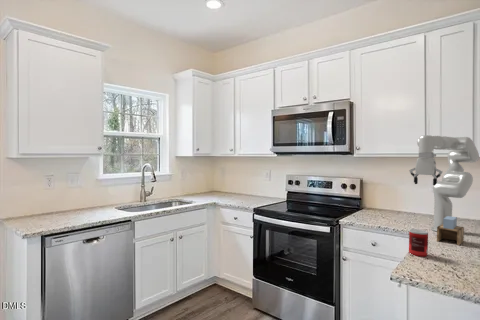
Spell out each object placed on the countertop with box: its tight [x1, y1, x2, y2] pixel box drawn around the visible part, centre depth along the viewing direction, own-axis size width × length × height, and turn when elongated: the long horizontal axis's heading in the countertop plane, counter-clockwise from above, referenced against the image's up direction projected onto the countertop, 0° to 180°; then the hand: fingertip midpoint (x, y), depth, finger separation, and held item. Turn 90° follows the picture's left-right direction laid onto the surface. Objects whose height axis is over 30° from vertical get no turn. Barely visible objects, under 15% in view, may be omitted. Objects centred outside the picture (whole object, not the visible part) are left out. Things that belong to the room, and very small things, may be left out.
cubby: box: [436, 224, 465, 246], centre depth 166 cm, size 12×10×8 cm
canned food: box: [408, 228, 429, 258], centre depth 141 cm, size 8×8×11 cm
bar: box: [443, 216, 458, 229], centre depth 166 cm, size 12×4×5 cm, turn 137°
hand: (425, 184), depth 179 cm, fingers open, 9 cm apart
